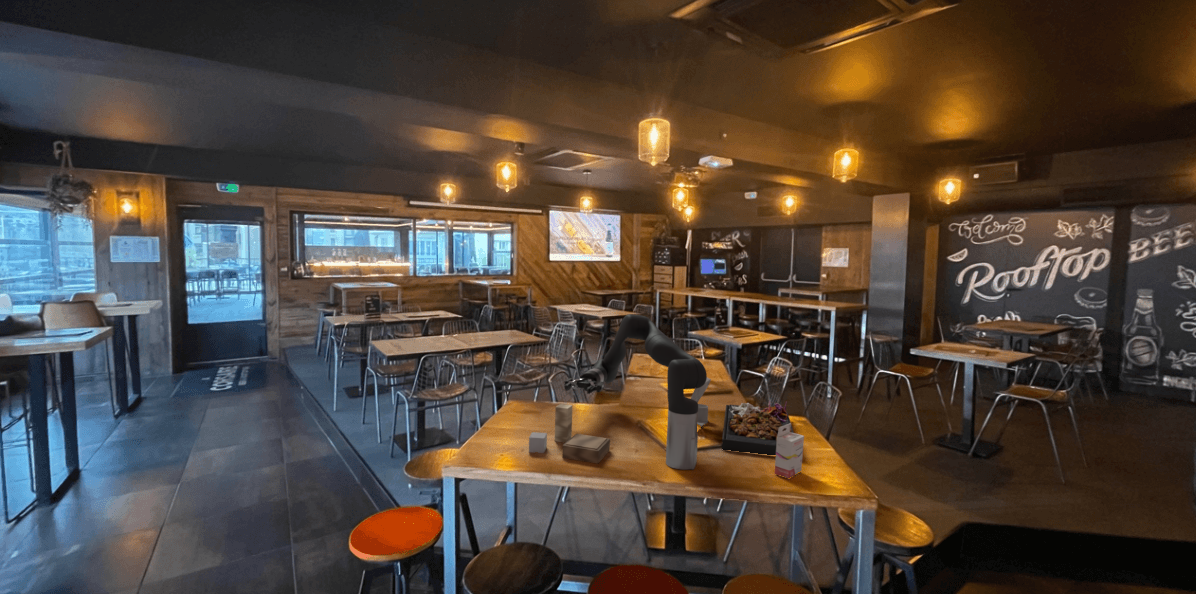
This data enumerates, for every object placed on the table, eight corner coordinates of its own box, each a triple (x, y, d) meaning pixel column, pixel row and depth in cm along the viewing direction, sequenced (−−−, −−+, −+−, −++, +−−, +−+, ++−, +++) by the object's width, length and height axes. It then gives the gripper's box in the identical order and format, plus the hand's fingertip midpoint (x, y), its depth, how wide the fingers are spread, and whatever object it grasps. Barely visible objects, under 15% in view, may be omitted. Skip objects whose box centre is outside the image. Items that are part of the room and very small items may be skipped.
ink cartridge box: (789, 480, 153) (792, 431, 152) (773, 475, 156) (776, 427, 155) (802, 472, 159) (805, 426, 158) (786, 467, 162) (789, 421, 161)
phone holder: (685, 416, 213) (687, 373, 212) (709, 420, 208) (711, 376, 207) (671, 428, 197) (673, 381, 196) (697, 432, 193) (699, 385, 192)
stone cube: (546, 447, 173) (547, 433, 172) (544, 453, 168) (544, 438, 167) (531, 446, 173) (532, 432, 172) (528, 452, 168) (529, 437, 168)
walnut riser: (609, 450, 172) (610, 437, 171) (598, 463, 160) (598, 450, 160) (575, 445, 176) (576, 432, 175) (562, 457, 164) (562, 444, 164)
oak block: (571, 438, 182) (572, 405, 181) (566, 442, 177) (567, 408, 177) (559, 436, 183) (560, 403, 182) (554, 440, 179) (555, 407, 178)
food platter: (725, 415, 219) (726, 391, 218) (786, 421, 213) (788, 397, 212) (721, 451, 176) (723, 422, 175) (798, 461, 169) (800, 431, 169)
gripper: (575, 368, 206) (559, 377, 191) (609, 372, 202) (596, 382, 186) (574, 386, 207) (558, 397, 192) (608, 391, 202) (595, 402, 187)
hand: (577, 389), depth 189 cm, fingers open, 8 cm apart
